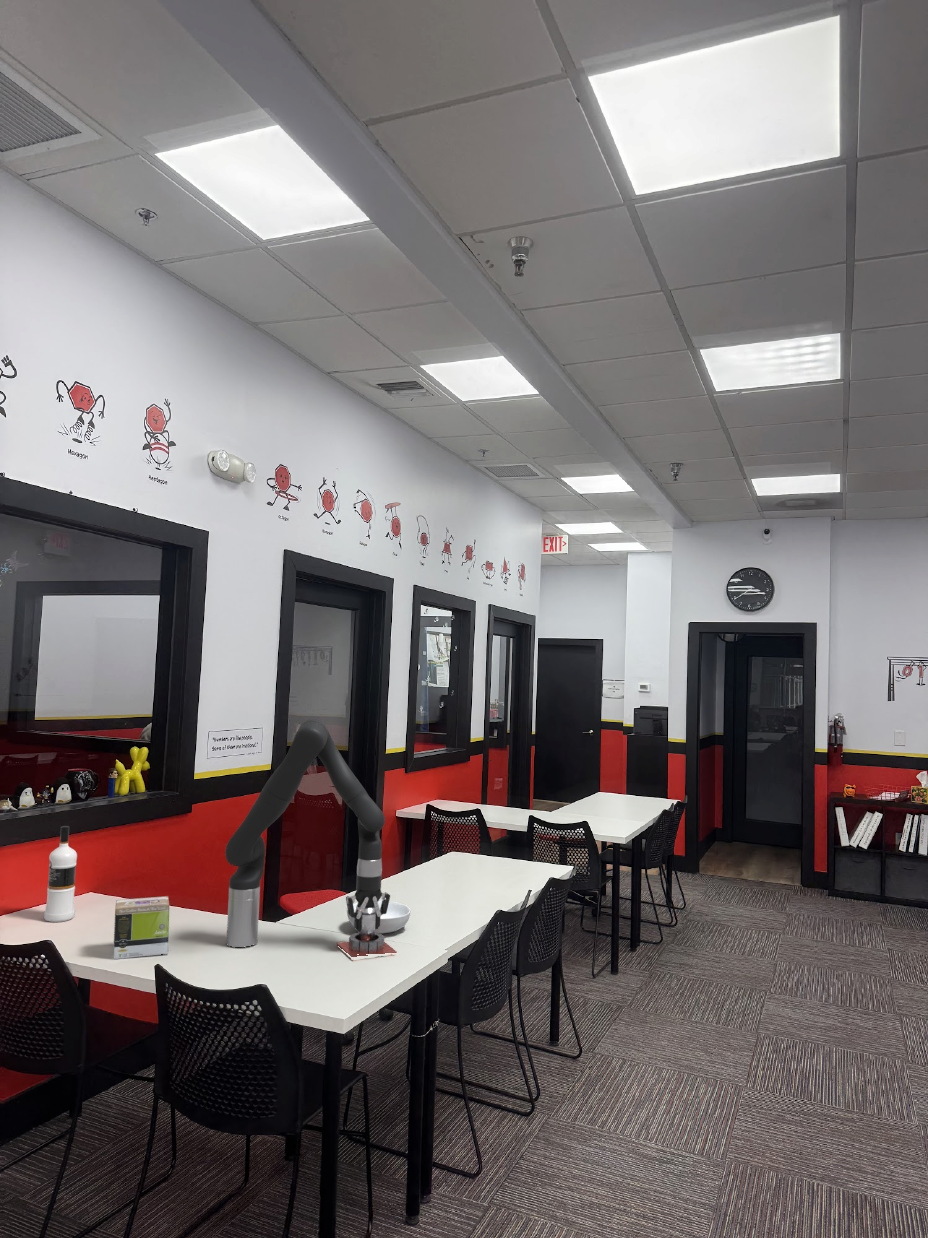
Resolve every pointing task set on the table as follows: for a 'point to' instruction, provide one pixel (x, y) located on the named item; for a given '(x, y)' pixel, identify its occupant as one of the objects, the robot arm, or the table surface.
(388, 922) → the serving bowl
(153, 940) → the tea box
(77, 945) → the table surface
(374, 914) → the cylinder
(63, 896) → the vodka
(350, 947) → the collar
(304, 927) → the table surface
